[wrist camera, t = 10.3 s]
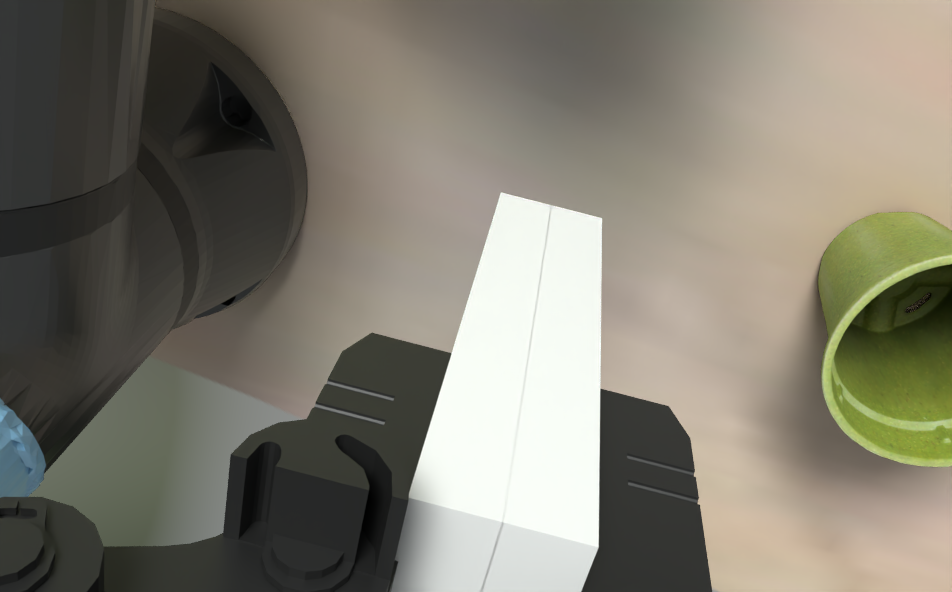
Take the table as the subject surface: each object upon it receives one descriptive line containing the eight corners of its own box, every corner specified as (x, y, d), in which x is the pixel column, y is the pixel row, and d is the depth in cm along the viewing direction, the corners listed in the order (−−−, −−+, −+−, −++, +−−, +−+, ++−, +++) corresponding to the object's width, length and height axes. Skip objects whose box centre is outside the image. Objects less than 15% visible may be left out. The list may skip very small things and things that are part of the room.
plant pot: (902, 129, 36) (981, 202, 29) (1043, 262, 38) (1152, 365, 31) (738, 274, 41) (769, 372, 33) (873, 388, 42) (932, 505, 35)
